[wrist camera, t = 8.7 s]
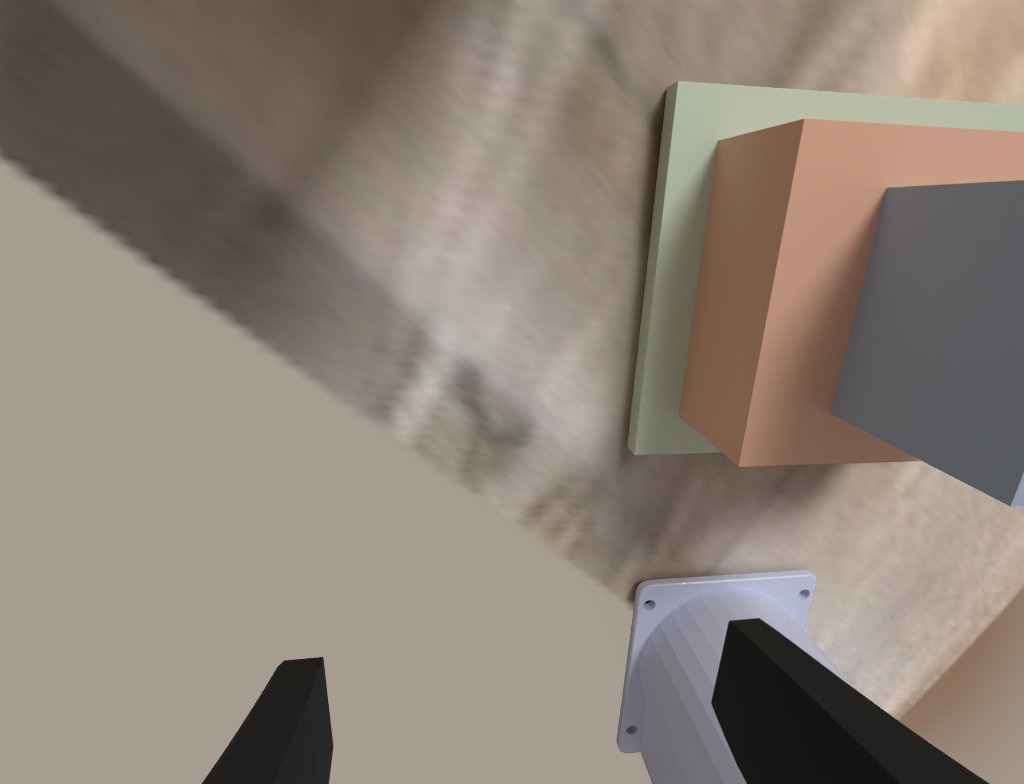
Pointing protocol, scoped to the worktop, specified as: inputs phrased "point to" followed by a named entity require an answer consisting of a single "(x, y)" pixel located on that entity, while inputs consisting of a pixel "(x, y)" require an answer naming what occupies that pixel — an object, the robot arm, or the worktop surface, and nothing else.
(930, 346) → the blue brick
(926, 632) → the worktop surface
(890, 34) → the worktop surface
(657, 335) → the tower base
